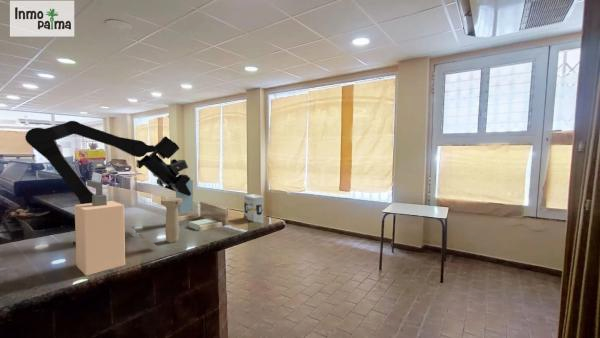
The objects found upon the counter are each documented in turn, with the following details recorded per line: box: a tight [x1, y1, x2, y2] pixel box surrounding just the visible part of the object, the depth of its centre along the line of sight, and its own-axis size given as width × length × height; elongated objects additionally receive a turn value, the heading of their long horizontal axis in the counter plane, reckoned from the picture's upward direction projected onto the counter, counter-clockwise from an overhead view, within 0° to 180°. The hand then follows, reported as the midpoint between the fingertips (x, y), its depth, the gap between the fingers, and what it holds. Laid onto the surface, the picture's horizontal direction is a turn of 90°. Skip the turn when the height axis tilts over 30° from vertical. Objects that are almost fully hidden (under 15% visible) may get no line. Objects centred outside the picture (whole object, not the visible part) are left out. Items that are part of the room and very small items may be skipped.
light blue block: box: [175, 179, 194, 214], centre depth 110 cm, size 5×4×12 cm
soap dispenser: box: [74, 179, 126, 276], centre depth 74 cm, size 13×9×22 cm
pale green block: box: [188, 218, 217, 231], centre depth 107 cm, size 8×6×2 cm
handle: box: [160, 197, 183, 243], centre depth 89 cm, size 5×6×15 cm
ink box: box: [243, 193, 264, 224], centre depth 120 cm, size 9×5×12 cm, turn 42°
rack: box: [178, 201, 229, 232], centre depth 112 cm, size 12×20×8 cm, turn 47°
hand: (187, 194), depth 111 cm, fingers closed on light blue block, 4 cm apart
